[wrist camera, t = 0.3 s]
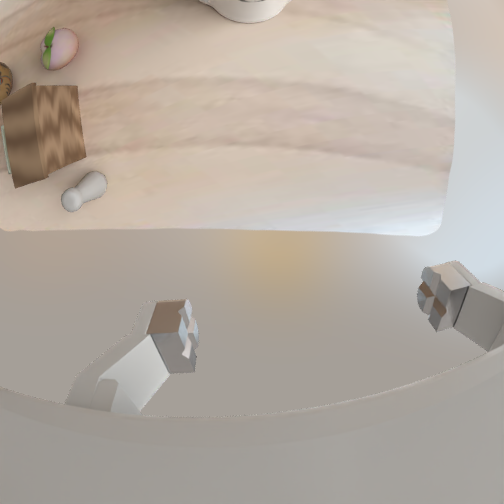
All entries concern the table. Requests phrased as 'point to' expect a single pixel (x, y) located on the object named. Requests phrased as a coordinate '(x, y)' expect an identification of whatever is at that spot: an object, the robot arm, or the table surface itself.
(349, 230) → the table surface
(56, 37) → the decorative fruit
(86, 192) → the salt shaker
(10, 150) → the wooden stand
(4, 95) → the ceramic vessel
